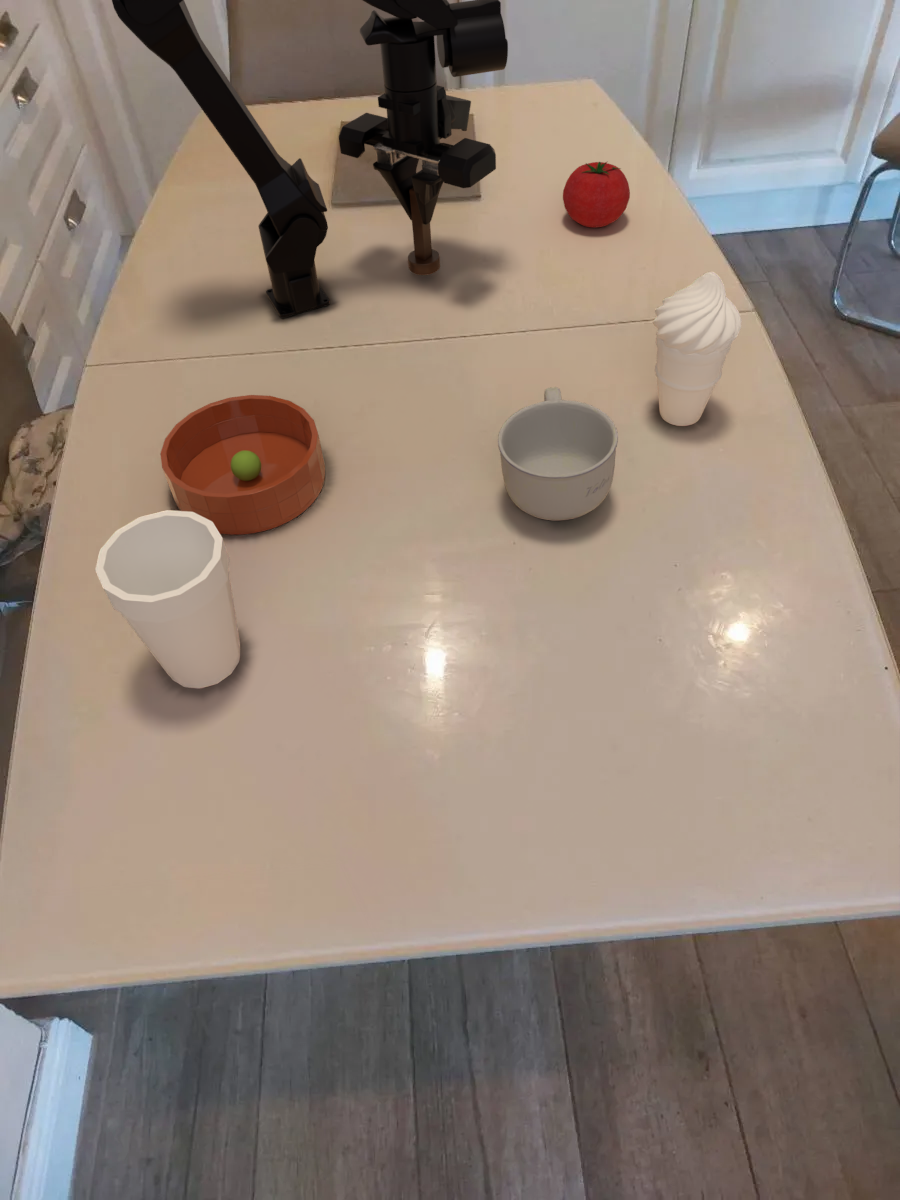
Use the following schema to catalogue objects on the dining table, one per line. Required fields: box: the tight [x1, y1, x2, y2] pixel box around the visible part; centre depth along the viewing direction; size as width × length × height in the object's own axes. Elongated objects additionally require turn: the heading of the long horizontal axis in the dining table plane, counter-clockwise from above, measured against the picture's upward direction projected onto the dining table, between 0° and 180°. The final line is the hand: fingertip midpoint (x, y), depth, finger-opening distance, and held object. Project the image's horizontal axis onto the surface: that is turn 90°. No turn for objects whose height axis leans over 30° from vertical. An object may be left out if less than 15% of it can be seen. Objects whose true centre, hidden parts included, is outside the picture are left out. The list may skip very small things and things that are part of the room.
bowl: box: [159, 394, 326, 536], centre depth 90 cm, size 15×15×5 cm
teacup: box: [497, 386, 619, 522], centre depth 87 cm, size 14×11×8 cm
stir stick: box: [407, 187, 441, 276], centre depth 111 cm, size 4×4×10 cm
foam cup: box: [94, 509, 241, 689], centre depth 73 cm, size 10×9×13 cm
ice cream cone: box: [652, 271, 742, 427], centre depth 90 cm, size 8×8×16 cm
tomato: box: [562, 161, 631, 228], centre depth 120 cm, size 9×9×8 cm
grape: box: [231, 451, 261, 481], centre depth 91 cm, size 3×3×3 cm
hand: (420, 221), depth 110 cm, fingers closed on stir stick, 2 cm apart
